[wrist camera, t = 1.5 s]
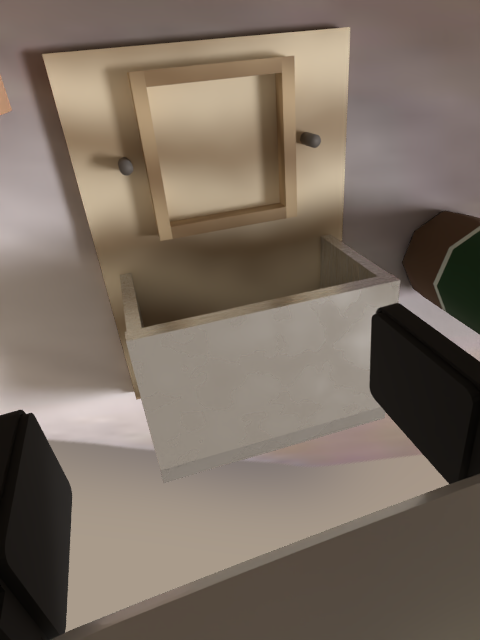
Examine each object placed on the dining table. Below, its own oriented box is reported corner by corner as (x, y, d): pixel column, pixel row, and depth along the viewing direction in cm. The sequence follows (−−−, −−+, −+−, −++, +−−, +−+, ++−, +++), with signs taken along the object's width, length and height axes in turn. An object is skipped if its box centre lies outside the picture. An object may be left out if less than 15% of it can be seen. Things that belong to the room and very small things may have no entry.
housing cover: (117, 275, 29) (125, 341, 22) (331, 234, 33) (400, 280, 25) (149, 397, 35) (163, 483, 28) (328, 352, 38) (384, 418, 31)
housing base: (43, 54, 24) (39, 52, 22) (342, 28, 27) (362, 24, 25) (135, 391, 36) (138, 411, 34) (332, 343, 40) (346, 357, 37)
